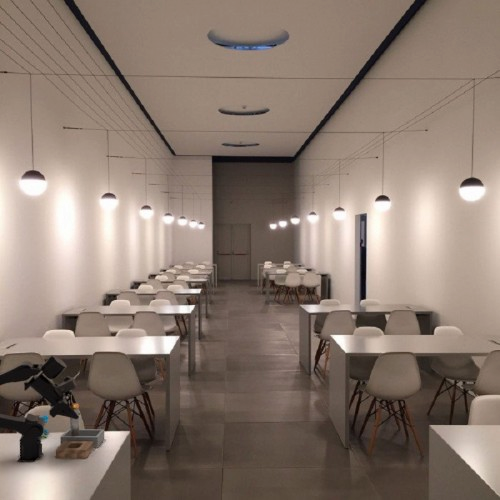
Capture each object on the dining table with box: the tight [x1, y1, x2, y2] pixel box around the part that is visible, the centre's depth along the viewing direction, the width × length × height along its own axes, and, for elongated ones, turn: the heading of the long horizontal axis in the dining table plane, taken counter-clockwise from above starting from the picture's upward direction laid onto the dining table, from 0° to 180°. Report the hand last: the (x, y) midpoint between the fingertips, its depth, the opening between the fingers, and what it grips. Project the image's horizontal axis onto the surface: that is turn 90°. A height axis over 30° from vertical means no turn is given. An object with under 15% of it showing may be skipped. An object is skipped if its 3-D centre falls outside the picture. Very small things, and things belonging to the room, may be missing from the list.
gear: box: [40, 414, 50, 438], centre depth 206 cm, size 11×6×10 cm
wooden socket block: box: [54, 441, 95, 459], centre depth 188 cm, size 11×8×3 cm
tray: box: [59, 428, 105, 449], centre depth 197 cm, size 14×8×4 cm, turn 88°
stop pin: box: [69, 402, 80, 437], centre depth 188 cm, size 3×3×11 cm
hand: (78, 416), depth 188 cm, fingers closed on stop pin, 3 cm apart
